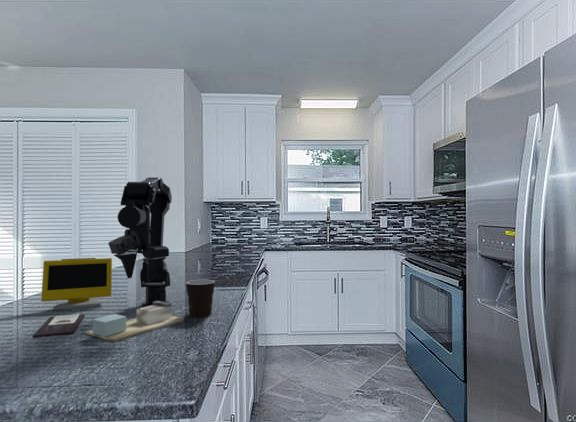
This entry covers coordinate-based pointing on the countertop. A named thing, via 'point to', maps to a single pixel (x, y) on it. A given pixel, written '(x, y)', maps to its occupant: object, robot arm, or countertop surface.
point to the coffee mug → (200, 297)
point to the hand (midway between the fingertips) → (139, 280)
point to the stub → (109, 325)
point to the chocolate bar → (59, 326)
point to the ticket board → (137, 328)
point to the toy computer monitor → (76, 282)
